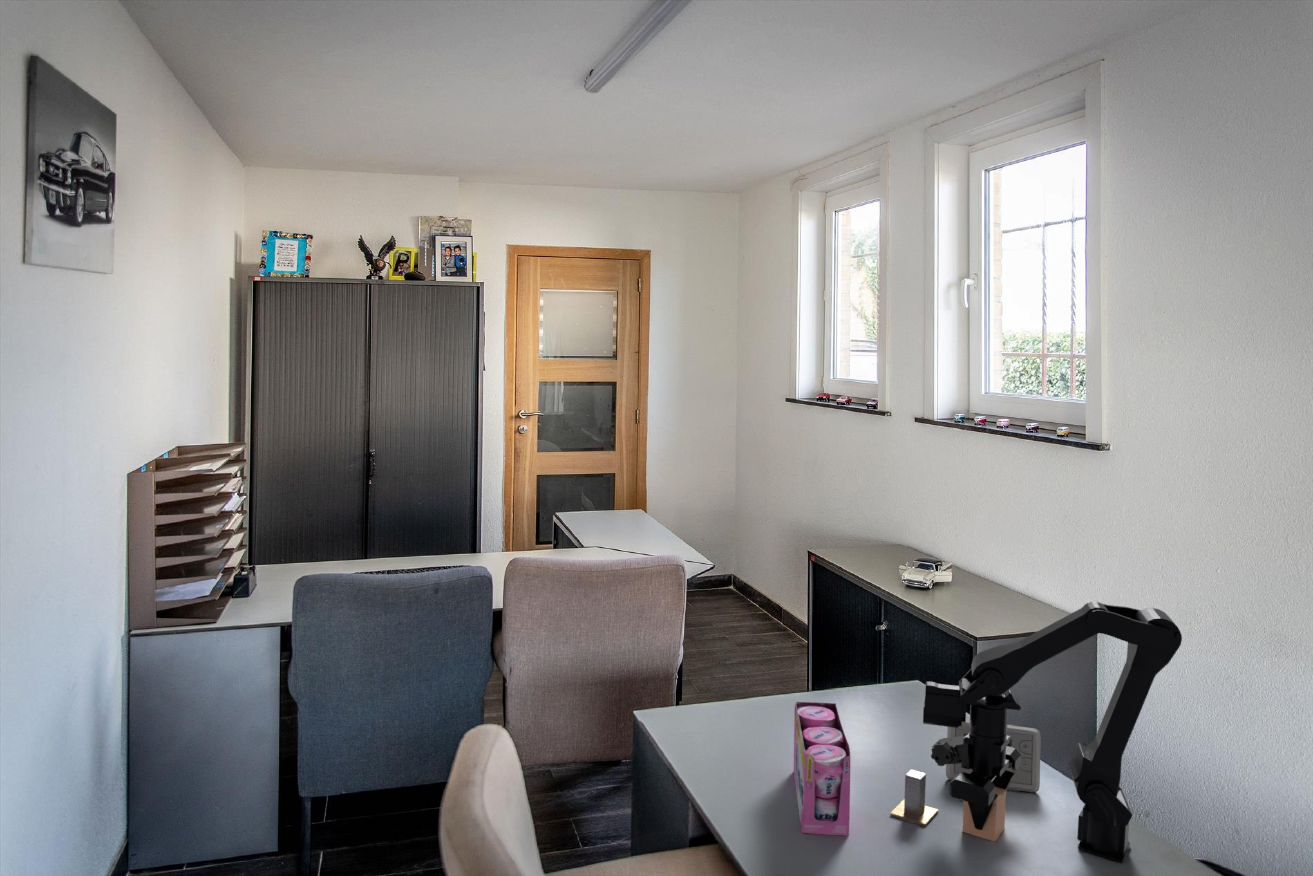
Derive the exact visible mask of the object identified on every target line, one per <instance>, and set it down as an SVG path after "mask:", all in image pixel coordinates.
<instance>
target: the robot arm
mask: <svg viewBox="0 0 1313 876" xmlns="http://www.w3.org/2000/svg"><path fill="white" fill-rule="evenodd" d="M1098 634H1101V635H1102V634H1103V635H1107V636H1110V637H1112V638H1115V639H1118V640H1121V641H1123V642H1125V643H1127V647H1126V648H1127V651H1126V652H1127V653H1126V661H1125V663H1124V665H1123V669H1122V671H1121V673H1120V676H1119V678H1118V681H1117V683H1116V685H1115V688H1114V690H1113V692H1112V696H1111V698H1110V700H1109V703H1108V705H1107V707H1106V710H1105V713H1104V715H1103V718H1102V720H1101V723H1100V725H1099V727H1098V730H1097V733H1096V735H1095V737H1094V739H1093V740H1092V741H1091V742H1090V743H1089V744H1087V745H1086V746H1085V745H1084V744H1082V743H1080V742H1077V743H1076V748H1075V754H1074V756H1073V757H1072V759H1071V760H1070V761H1069V762H1068V764H1069V767H1070V770H1071V776H1072V781H1073V784H1074V787H1075V791H1076V793H1077V796H1078V798H1079V800H1080V801H1081V802H1082V803H1083V804H1084V805H1083V807H1082V810H1081V811H1080V813H1079V814H1078V817H1077V819H1078V820H1077V836H1076V837H1077V838H1076V839H1077V841H1079V843H1078V844H1077V849H1078V850H1080V851H1082V852H1086V853H1089V854H1093V855H1095V856H1099V857H1102V858H1105V859H1108V860H1112V861H1115V862H1118V863H1124V861H1125V859H1126V857H1127V855H1128V852H1129V849H1130V847H1131V843H1130V842H1129V834H1130V833H1129V831H1130V830H1129V829H1130V821H1131V819H1132V817H1133V813H1132V811H1131V807H1130V806H1129V802H1128V801H1127V799H1126V796H1125V793H1124V791H1123V788H1122V787H1121V786H1120V783H1121V774H1122V759H1123V755H1124V752H1125V750H1126V748H1127V745H1128V742H1129V741H1130V738H1131V736H1132V733H1133V730H1134V728H1135V726H1136V723H1137V720H1138V719H1139V716H1140V713H1141V711H1142V709H1143V706H1144V704H1145V701H1146V699H1147V696H1148V695H1149V692H1150V689H1151V687H1152V684H1153V682H1154V679H1155V678H1156V676H1157V675H1158V673H1160V672H1162V670H1163V669H1164V668H1165V667H1166V666H1167V665H1168V664H1169V663H1170V662H1171V660H1172V659H1173V657H1174V656H1175V655H1176V653H1177V651H1178V650H1179V648H1180V647H1181V646H1182V641H1183V637H1182V633H1181V630H1180V628H1179V626H1178V625H1177V624H1176V623H1175V622H1174V620H1172V619H1171V617H1170V616H1169V615H1168V614H1167V613H1166V612H1165V611H1163V610H1161V609H1160V608H1155V607H1147V608H1143V609H1141V610H1140V609H1137V608H1133V607H1128V606H1121V605H1113V604H1112V605H1111V604H1106V603H1101V602H1098V601H1089V602H1087V603H1085V604H1084V605H1083V606H1081V608H1079V609H1077V610H1075V611H1073V612H1071V613H1069V614H1068V615H1066V616H1064V617H1063V618H1060V619H1058V620H1056V621H1054V622H1053V623H1051V624H1049V625H1047V626H1045V627H1043V628H1042V629H1040V630H1038V631H1036V632H1034V633H1032V634H1030V635H1029V636H1027V637H1025V638H1023V639H1021V640H1019V641H1016V642H1012V643H1009V644H1001V645H997V646H994V647H991V648H988V649H984V650H982V651H980V652H978V653H977V654H975V655H974V656H973V658H972V662H971V666H970V667H971V668H970V669H969V670H968V671H967V672H966V673H965V674H964V675H963V677H961V678H960V680H959V681H958V685H953V684H952V685H951V684H942V683H937V682H935V681H934V682H933V681H926V682H925V693H924V696H923V707H922V709H923V710H922V711H923V713H922V724H923V725H930V726H931V725H932V726H939V727H947V728H948V727H954V728H958V726H962V722H966V720H967V705H970V706H969V708H970V709H969V720H970V728H969V734H968V735H967V736H965V737H964V736H960V737H950V738H947V737H943V738H940V739H938V740H937V741H935V743H934V744H933V745H932V746H931V747H932V748H931V749H930V750H931V754H930V758H931V759H932V760H933V761H934V762H935V763H936V765H937V766H939V767H944V766H946V764H958V763H961V768H965V769H972V772H971V773H970V774H969V773H965V772H961V773H959V774H958V775H956V776H955V778H954V779H953V780H950V782H949V783H948V795H949V796H950V798H953V799H958V800H961V801H963V802H964V801H967V802H968V805H969V808H970V811H971V815H972V819H973V823H974V826H975V828H976V829H978V830H982V829H983V827H984V825H985V823H986V821H987V819H988V817H989V814H990V812H991V810H992V808H993V806H994V804H995V802H996V800H997V798H998V795H997V794H995V787H998V788H1001V789H1005V790H1006V791H1008V790H1007V788H1008V786H1009V784H1010V782H1011V780H1012V778H1013V777H1014V773H1013V772H1010V771H1007V770H1006V769H1007V768H1008V766H1009V762H1010V763H1012V765H1011V767H1012V770H1017V769H1018V768H1019V766H1020V763H1021V754H1020V753H1019V752H1018V751H1017V749H1016V748H1013V747H1009V746H1007V745H1008V744H1009V742H1010V736H1008V735H1007V724H1008V713H1009V712H1008V711H1009V710H1012V711H1014V710H1016V711H1020V710H1021V708H1022V707H1021V702H1020V699H1019V698H1018V697H1017V696H1015V694H1014V693H1013V691H1012V690H1011V688H1013V687H1014V686H1015V685H1016V684H1018V683H1019V682H1020V681H1021V680H1022V679H1023V678H1024V676H1025V675H1026V674H1028V672H1029V671H1031V670H1032V669H1033V668H1035V667H1036V666H1038V665H1040V664H1042V663H1044V662H1047V661H1049V660H1050V659H1052V658H1053V657H1056V656H1057V655H1060V654H1061V653H1063V652H1065V651H1067V650H1070V649H1071V648H1073V647H1075V646H1077V645H1079V644H1080V643H1082V642H1084V641H1086V640H1088V639H1090V638H1092V637H1094V636H1097V635H1098Z"/></svg>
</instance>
